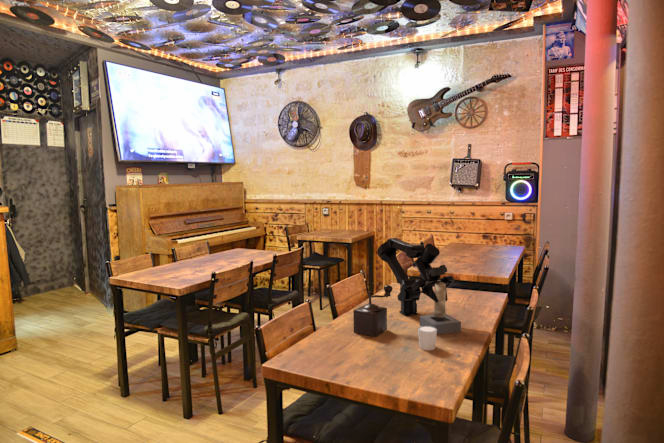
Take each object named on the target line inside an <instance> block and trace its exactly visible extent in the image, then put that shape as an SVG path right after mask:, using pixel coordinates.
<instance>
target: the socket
mask: <svg viewBox="0 0 664 443" xmlns="http://www.w3.org/2000/svg"><path fill="white" fill-rule="evenodd" d="M422 326H431V327H434V328H436V329H437V334H436V336H437V335H444V334H450V333H453V334H454V333H459V332H462V322H461V320H458V319H457V318H455V317H453V316H451V315H449V314H447V313H445V317H444V318H438V317H435V316H434V313H433V314H425V315H419V327H422Z"/></svg>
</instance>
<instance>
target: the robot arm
mask: <svg viewBox="0 0 664 443" xmlns="http://www.w3.org/2000/svg"><path fill="white" fill-rule="evenodd" d="M397 251H400V252H403V253H404V254H405V256H406V257H407V258H409V259H412V260H413V259H416V260H413V263H412V268H416V269H417V270H418V273H419V278H420V279H411V278H409V276H408V274H407V273H406V271H405V269H404V268H403V267H402V265H401V264H400V262H399V260H398V259H397ZM376 253H377V255H378V257H379V258H380V260H382V261H384V262H385V263H387V265H388V266H389V268H390V270H391V272H392V273H393V275H394V277H395V278H396V280H397V281H398V283H399V285H400V286H399V287H400V289H399V293H398V294H397V300H398V302H400V310H399V311H398V312H399V313H400V314H402V315H404V316H406V317H408V316H415V315H418V314H419V313H418V303H417V301H420V298H421V294H424V295H425V296H427V297H428V298H430V299H431V300H433V302H434V301H435V302H436V303H437V302H438V299H437V297H436V295H435V290H434V288H433V286H434V287H435V283H445V284H446V289H447V288H449V287H450V286H451V285H452V284H453V283H454V282H455V279H454V277H453V275H446V273H447V272H448V268H447V267H446V265H445V264H441V265H439V266H435V267H432V264H433V263H434V262H435V260H436V259H437V258H438V257H439V255H440V253H441V252H440V249H439V248H438V247H436V246H435V245H433V244H432V242H431V243H430V242H429V243H426V245H423V244H419V243H418V244H417V243H416V244H415V243H414V244H412V243H409V242H406V241H404V240H402V239H399V238H398V237H390V238H388V239H387V240H386V241H385V242H383V243H382V244H380V246H378V248H377V250H376ZM442 275H446V276H443V277H442ZM441 277H442V278H441ZM448 300H449V298H448V292H447V290H446V302H447V301H448Z"/></svg>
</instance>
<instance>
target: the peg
mask: <svg viewBox="0 0 664 443" xmlns="http://www.w3.org/2000/svg"><path fill="white" fill-rule="evenodd" d="M446 291H447V288H446V284H445V283H435V286H434V293H435V295H436V297H437V299H438V302H437V303H436V302H435V301H434V300H433V302H434V307H433V308H434V310H433V311H434V312H433V314H434V316H435V317H438V318H444V317H445V314H446V303H447V301H446Z"/></svg>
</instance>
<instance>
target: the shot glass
mask: <svg viewBox="0 0 664 443" xmlns="http://www.w3.org/2000/svg"><path fill="white" fill-rule="evenodd" d="M417 332H418V333H417V334H418V344H419V345H418V347H419V348H420V350H424V351H433V350H435V349H436V343H437V335H436V334H437V329H436V328H434V327H431V326H419V327H418V328H417Z"/></svg>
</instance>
